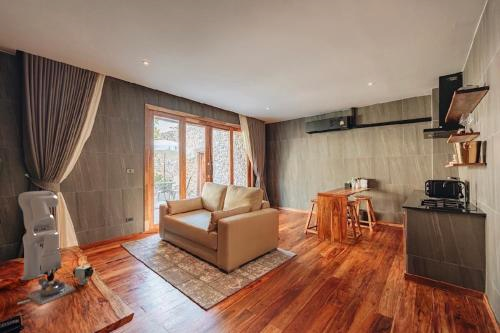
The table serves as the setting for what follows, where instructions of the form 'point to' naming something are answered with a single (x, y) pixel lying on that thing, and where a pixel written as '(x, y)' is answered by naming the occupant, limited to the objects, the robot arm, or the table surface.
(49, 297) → the flange plate
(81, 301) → the table surface
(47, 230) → the robot arm
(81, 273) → the pneumatic valve
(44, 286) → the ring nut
